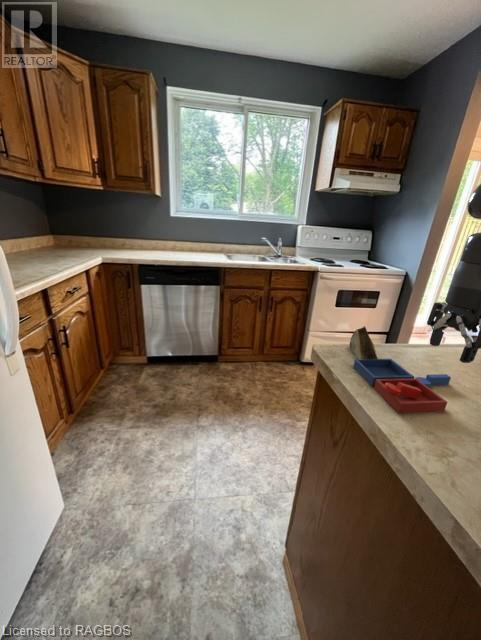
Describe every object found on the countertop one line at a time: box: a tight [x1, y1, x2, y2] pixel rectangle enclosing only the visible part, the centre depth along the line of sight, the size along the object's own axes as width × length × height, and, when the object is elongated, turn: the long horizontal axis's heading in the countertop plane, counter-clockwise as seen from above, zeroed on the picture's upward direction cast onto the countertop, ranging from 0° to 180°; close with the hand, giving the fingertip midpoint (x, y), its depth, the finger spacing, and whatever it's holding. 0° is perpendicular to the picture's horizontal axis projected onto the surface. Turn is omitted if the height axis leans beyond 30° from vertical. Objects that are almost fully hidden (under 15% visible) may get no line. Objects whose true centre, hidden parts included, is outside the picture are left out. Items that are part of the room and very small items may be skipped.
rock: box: [348, 325, 378, 359], centre depth 76 cm, size 11×9×10 cm
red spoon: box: [384, 382, 422, 399], centre depth 58 cm, size 8×3×2 cm, turn 96°
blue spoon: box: [415, 373, 452, 388], centre depth 65 cm, size 8×3×2 cm, turn 96°
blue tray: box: [353, 358, 415, 387], centre depth 68 cm, size 10×9×2 cm
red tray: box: [373, 377, 448, 414], centre depth 59 cm, size 10×9×2 cm
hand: (448, 353), depth 63 cm, fingers open, 8 cm apart
